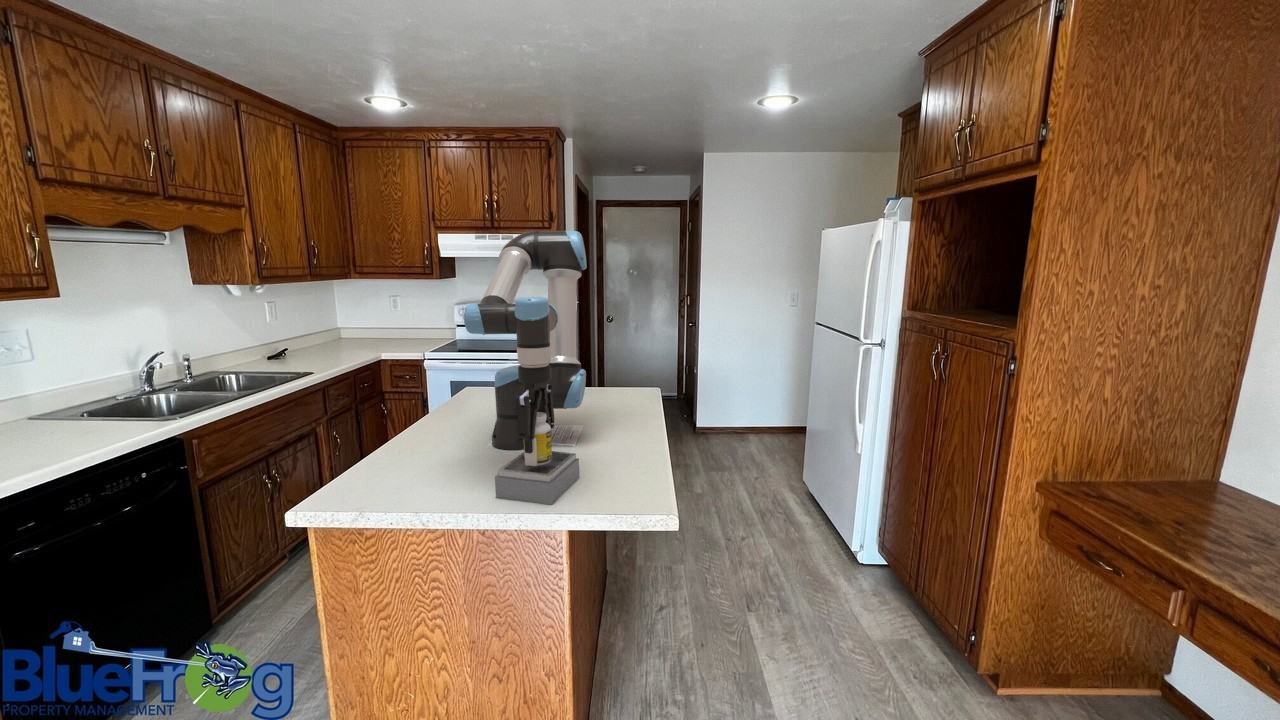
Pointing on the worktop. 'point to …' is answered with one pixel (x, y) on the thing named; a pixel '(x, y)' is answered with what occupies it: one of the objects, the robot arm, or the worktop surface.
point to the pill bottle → (542, 439)
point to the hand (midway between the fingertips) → (538, 459)
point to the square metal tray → (537, 479)
